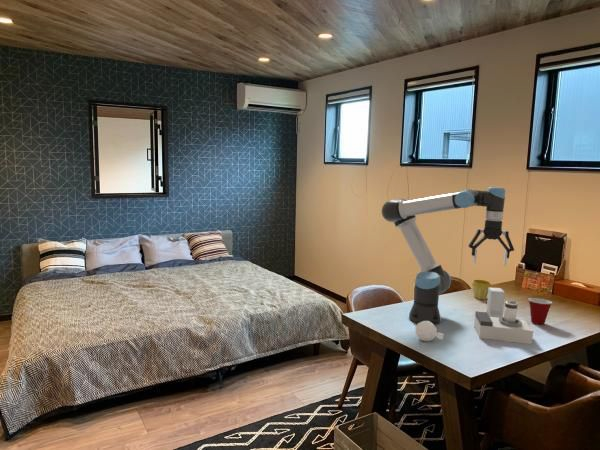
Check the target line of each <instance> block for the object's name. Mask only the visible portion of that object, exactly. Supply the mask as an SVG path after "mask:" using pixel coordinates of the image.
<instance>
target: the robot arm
mask: <svg viewBox="0 0 600 450" xmlns="http://www.w3.org/2000/svg"><path fill="white" fill-rule="evenodd" d="M505 199H506V189H505V188H504V187H497V186H494V187H493V186H490V187H488V189H487V190H477V189H476V190H475V189H463V190H461V191H458V192H453V193H447V194H440V195H435V196H428V197H424V198H417V199H413V200H412V199H411V200H408V199H406V198H405V199H404V198H397V199H390V200H387V201H385V203H384V204H383V205H382V207H381V215H382V217H383V218H384V219H385V220H386V221H387V222H389V223H393V224H394V226H395V228H397V229H399V230H400V231H401V233H402V235H403V237H404V239H405V241H406V243H407V245H408V248H409V249H410V252H411V253H412V255H413V257H414V259H415V261H416V263H417V265H418V267H419V269H420V272H418V273H417V274H416V275H415V279H414V280H415V281H414V294H413V295H414V297H413V303H412V306H411V309H410V312H409V314H408V319H409V320H410V321H412V322H413V323H416V324H418V323H420V322H422V321H430V322H431V323H433V324H434V326H435V325H439V324H440V323H441V314H440V309H439V299H440V295H441V294H443V293H446V292H447V290H448V289H449V288H450V286H451V284H452V278H451V275H450V274H449V272H447V271H446V270H444V269H443V266H442V265H441V264H440V263H437V262H436V260H435V258H434V256H433V254H432V252H431V250H430V248H429V247H428V244H427V242H426V241H425V238H424V236H423V235H422V233H421V231H420V229H419V227H418V225H417V223H416V220H417V217H416V216H417V215H418V216H419V215H425V214H431V213H432V214H433V213H436V212H437V213H438V212H443V211H449V210H450V211H451V210H457V209H458V210H459V209H466V208H469V207H484V208H485V207H486V209H485V221H484V228H483V229H481V228H477V229H476V233H475V234H474V236H473V238H472V239H471V241H470V242H469V244H468V248H470V249H471V256H472V257H473V259H472V262H473V264H476V262H477V253H478V249H477V248H478V247H479V246H480V245H482V243H483V242H484V241H486V240H493V241H494V240H495V241H496V240H498V242H499V243H500V244H501V245H502V247H503V249H505V250H504V252H503V261H502V265H504V266H507V262H508V261H507V260H508V259H509V258H510V252H514V251H515V247H514V245H513V243H512V240H511V239H510V233H509V231H508V230H503V229H502V228H503V221H502V220H503V217H504V216H503V215H504V206H505ZM502 230H503V231H502ZM482 233H483V236H482V237H481V238H480V239H479V240H478V238H479V237H480V235H481V234H482ZM502 235H503V236H504V237H505V239H506V242H507V244H506V243H505V241H503V239H502V237H501V236H502ZM477 240H478V241H477ZM475 242H476V243H475Z"/></svg>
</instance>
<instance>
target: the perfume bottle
mask: <svg viewBox="0 0 600 450" xmlns="http://www.w3.org/2000/svg"><path fill="white" fill-rule="evenodd" d="M415 335H416V336H417V339H420V340H421V341H422V342H431V341H433V340H434V339H435V338H436V339H440V340H444V335H445V333H441V332H437V327H436V326H435V325H434V324H433V323H431V322H430V321H422V322H420V323H417V324H416V326H415Z"/></svg>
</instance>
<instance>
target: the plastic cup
mask: <svg viewBox="0 0 600 450" xmlns="http://www.w3.org/2000/svg"><path fill="white" fill-rule="evenodd" d="M527 301H528V302H529V309H530V310H529V313H530V321H531V323H532V324H534V325H539V326H542V325H545V323H546V319H547V317H548V314H549V311H550V308H551V306H552V304H553V301H551V300H547V299H543V298H534V297H533V298H531V297H529V298H528V300H527Z"/></svg>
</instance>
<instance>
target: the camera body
mask: <svg viewBox="0 0 600 450" xmlns="http://www.w3.org/2000/svg"><path fill="white" fill-rule="evenodd" d="M473 325H474V326H473V328H474V331H475V333H476V334H477V336H479V337H478V338H479V339H482V340H483V339H485V340H494V341H501V342H502V341H503V342H510V343H511V342H512V343H519V344H521V343H522V344H529V345H530V344H531V345H532V343H533V336H534V329H532V327H531V326H530V325H529V324H528V323H527V321H526V320H523V319H518V318H516V322H515V323H508V322H505V321H504V316H503V317H501V318H497V317H489V315H488V314H487V311H486V312H485V311H477V310H476V311H475V315H474V324H473Z"/></svg>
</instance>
